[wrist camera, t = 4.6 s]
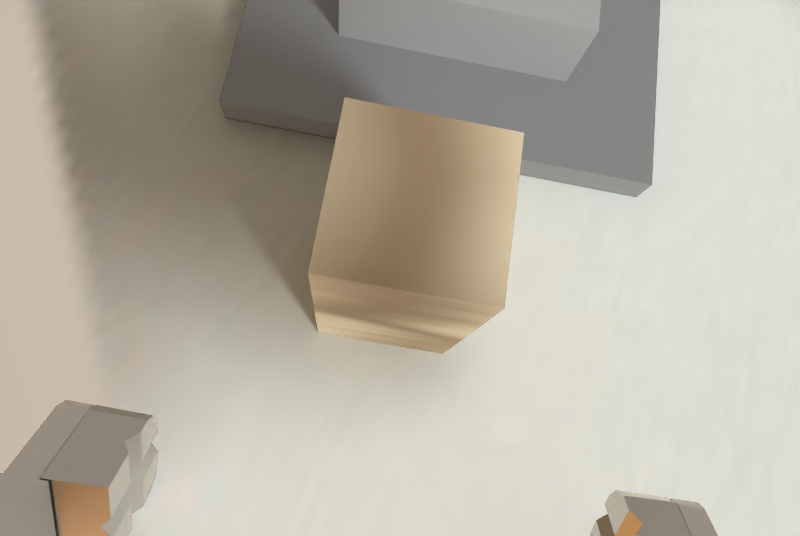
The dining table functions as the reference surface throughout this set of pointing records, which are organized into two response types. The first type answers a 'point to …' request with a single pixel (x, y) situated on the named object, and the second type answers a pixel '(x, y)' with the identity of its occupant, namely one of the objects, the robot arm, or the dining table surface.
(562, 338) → the dining table surface
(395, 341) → the wooden block
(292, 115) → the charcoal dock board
